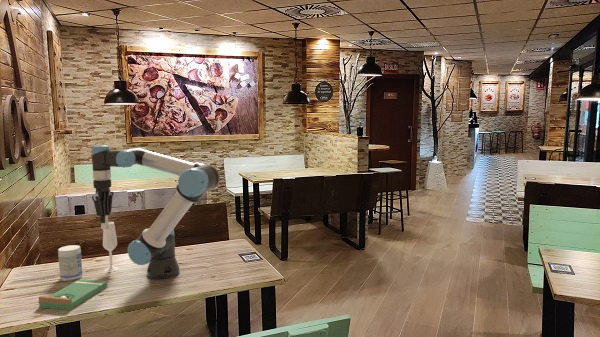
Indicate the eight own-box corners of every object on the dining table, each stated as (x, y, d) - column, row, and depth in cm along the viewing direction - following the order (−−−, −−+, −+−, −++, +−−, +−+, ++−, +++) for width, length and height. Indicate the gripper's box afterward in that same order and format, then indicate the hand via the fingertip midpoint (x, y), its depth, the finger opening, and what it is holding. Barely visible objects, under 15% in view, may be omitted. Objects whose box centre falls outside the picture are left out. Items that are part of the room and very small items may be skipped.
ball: (69, 298, 179) (63, 304, 177) (69, 299, 182) (63, 306, 180) (62, 293, 179) (56, 300, 177) (62, 295, 181) (56, 302, 179)
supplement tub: (83, 278, 206) (81, 248, 204) (61, 283, 201) (58, 252, 199) (81, 272, 214) (79, 243, 212) (59, 276, 209) (57, 246, 207)
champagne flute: (119, 266, 222) (116, 220, 219) (118, 271, 216) (115, 224, 213) (104, 268, 220) (102, 221, 217) (103, 272, 214) (100, 225, 211)
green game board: (107, 286, 197) (106, 277, 196) (70, 310, 173) (69, 299, 173) (79, 284, 199) (78, 275, 199) (39, 307, 176) (38, 297, 175)
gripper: (103, 176, 206) (106, 225, 209) (85, 181, 194) (88, 232, 197) (118, 177, 205) (120, 225, 208) (100, 181, 192) (103, 233, 195)
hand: (105, 229), depth 202 cm, fingers closed
